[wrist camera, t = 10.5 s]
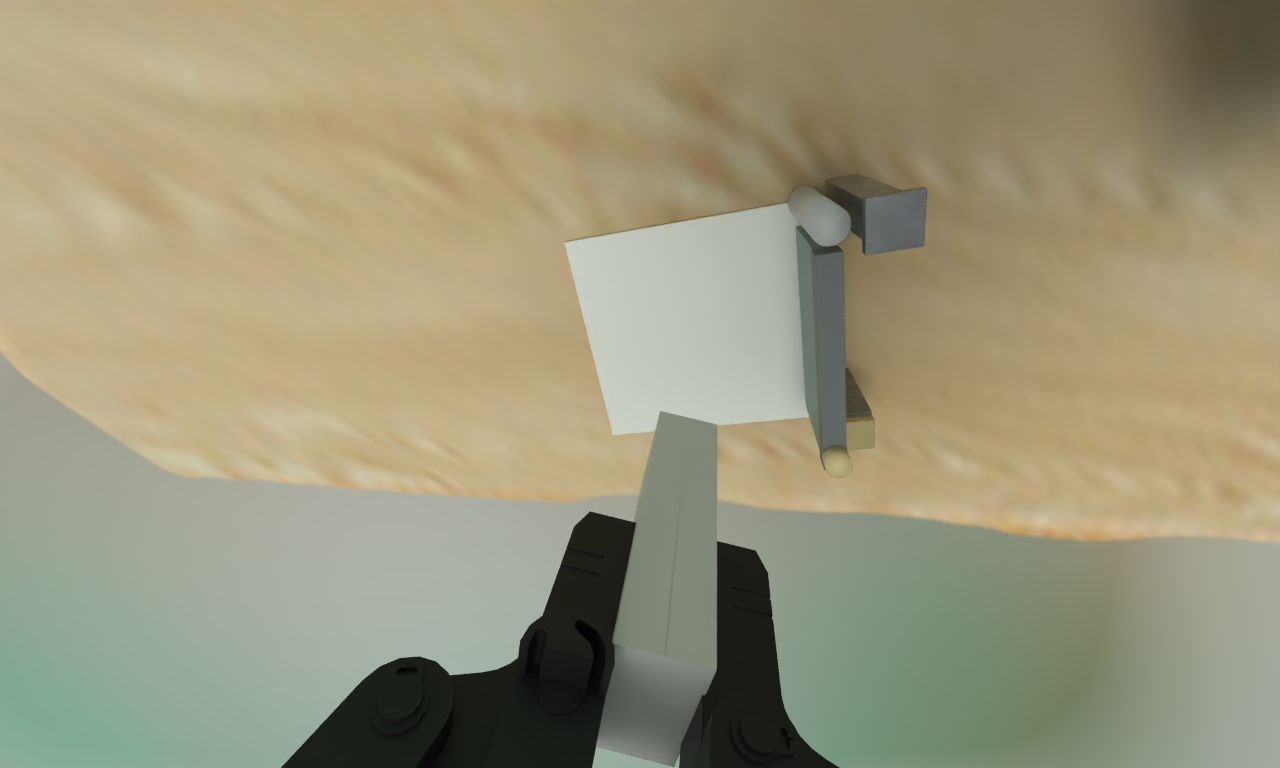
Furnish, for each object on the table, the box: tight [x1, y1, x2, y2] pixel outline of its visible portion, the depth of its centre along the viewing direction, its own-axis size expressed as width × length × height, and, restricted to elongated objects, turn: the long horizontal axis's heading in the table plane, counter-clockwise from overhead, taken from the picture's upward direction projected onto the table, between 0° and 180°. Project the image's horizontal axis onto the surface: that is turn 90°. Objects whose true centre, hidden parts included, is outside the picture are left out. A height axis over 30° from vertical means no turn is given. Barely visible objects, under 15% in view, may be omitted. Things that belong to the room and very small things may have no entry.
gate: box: [788, 186, 853, 478], centre depth 32 cm, size 16×2×10 cm, turn 11°
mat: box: [565, 202, 809, 435], centre depth 40 cm, size 17×17×1 cm
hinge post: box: [826, 174, 927, 255], centre depth 29 cm, size 3×3×12 cm
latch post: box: [845, 369, 875, 450], centre depth 37 cm, size 2×3×7 cm
